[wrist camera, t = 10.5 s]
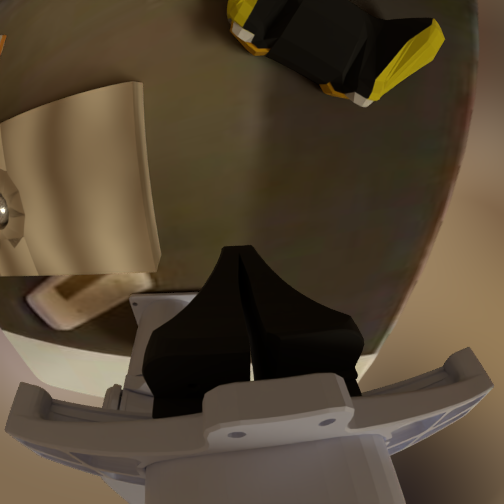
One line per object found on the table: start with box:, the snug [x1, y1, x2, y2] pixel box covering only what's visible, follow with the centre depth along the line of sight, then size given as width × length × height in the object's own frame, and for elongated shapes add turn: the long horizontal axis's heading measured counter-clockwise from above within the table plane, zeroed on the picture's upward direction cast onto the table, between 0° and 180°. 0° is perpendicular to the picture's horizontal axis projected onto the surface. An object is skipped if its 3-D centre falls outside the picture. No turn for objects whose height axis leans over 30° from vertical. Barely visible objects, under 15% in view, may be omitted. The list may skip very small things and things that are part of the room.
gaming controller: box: [227, 0, 445, 107], centre depth 12 cm, size 15×6×10 cm
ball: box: [0, 193, 9, 224], centre depth 16 cm, size 3×3×3 cm
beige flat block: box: [0, 81, 161, 276], centre depth 17 cm, size 20×14×2 cm
